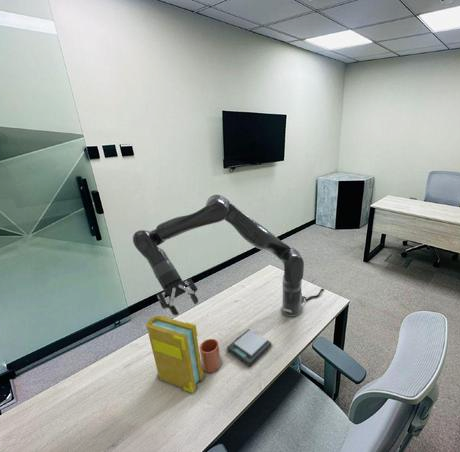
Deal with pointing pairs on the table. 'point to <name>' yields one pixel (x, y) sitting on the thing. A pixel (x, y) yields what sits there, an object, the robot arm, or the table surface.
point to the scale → (249, 347)
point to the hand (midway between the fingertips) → (187, 309)
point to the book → (175, 351)
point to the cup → (210, 355)
